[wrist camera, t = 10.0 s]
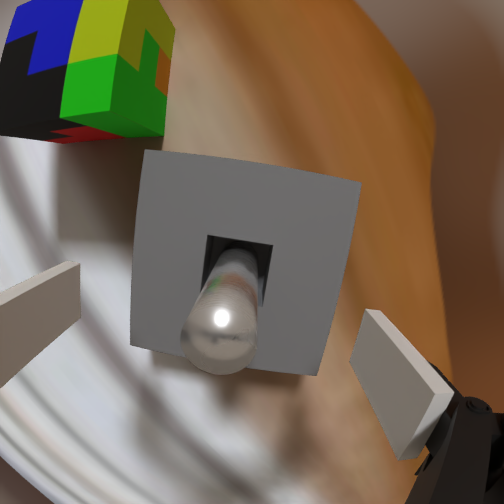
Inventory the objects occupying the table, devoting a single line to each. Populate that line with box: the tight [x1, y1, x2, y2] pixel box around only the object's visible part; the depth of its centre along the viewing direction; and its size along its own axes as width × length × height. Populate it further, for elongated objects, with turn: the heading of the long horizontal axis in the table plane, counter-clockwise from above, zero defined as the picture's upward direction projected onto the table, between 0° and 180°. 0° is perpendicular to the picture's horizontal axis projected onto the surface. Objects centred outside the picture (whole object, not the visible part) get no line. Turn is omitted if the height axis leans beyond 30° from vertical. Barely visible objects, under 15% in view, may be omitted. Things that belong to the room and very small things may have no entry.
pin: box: [180, 241, 258, 375], centre depth 18 cm, size 3×3×13 cm
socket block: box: [130, 149, 362, 376], centre depth 23 cm, size 14×14×5 cm
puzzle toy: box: [0, 0, 175, 144], centre depth 18 cm, size 10×10×10 cm
